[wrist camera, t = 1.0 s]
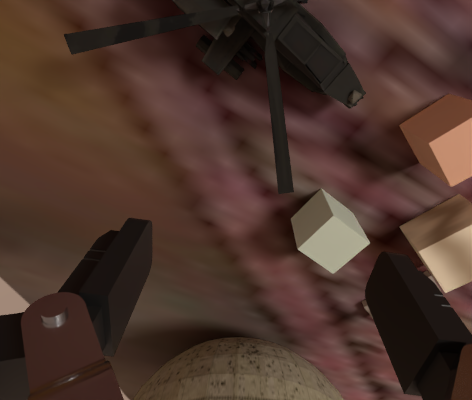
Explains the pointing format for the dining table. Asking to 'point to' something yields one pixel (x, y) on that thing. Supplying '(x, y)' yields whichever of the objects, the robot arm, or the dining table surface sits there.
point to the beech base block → (444, 241)
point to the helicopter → (253, 52)
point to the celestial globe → (238, 374)
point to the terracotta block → (443, 138)
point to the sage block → (328, 232)
